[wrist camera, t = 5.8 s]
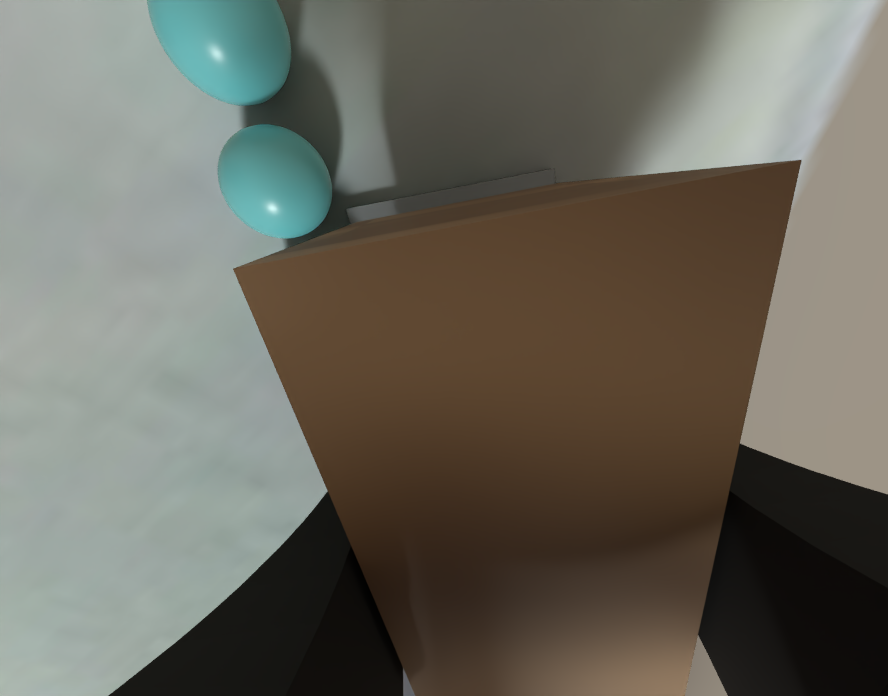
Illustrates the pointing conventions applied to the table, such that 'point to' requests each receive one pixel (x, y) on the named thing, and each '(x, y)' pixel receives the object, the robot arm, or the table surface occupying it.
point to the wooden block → (534, 416)
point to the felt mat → (451, 195)
